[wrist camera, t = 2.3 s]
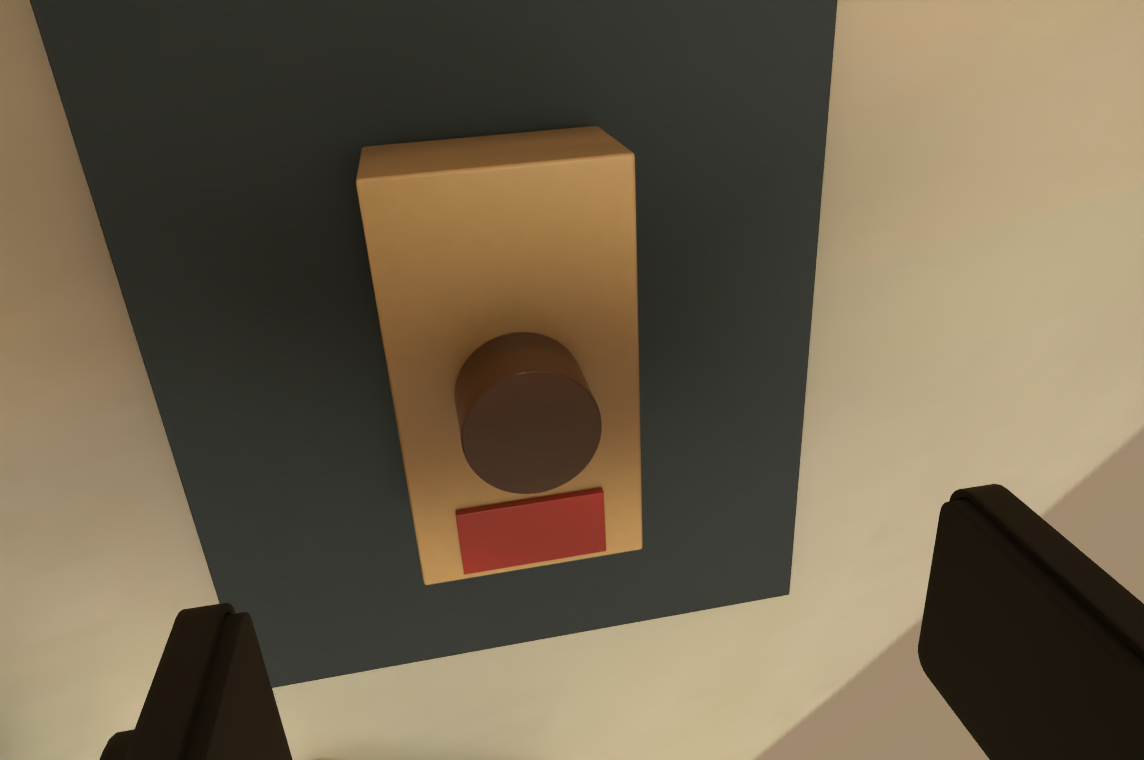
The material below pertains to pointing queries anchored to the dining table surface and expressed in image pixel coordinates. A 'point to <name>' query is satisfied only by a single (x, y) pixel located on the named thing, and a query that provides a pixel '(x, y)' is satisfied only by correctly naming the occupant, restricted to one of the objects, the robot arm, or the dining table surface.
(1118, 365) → the dining table surface
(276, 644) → the desk mat
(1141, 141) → the dining table surface
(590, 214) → the stamp
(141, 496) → the dining table surface
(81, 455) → the dining table surface
